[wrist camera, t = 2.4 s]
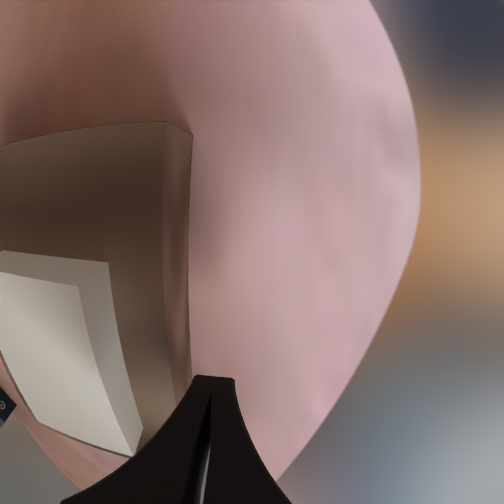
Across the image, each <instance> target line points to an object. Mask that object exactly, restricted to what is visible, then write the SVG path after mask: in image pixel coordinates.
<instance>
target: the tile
mask: <svg viewBox="0 0 504 504" xmlns="http://www.w3.org/2000/svg"><path fill="white" fill-rule="evenodd" d="M0 350H1V353H2V355H3V357H4V360H5V362H6V364H7V366H8V368H9V370H10V372H11V375H12V377H13V379H14V380H15V382H16V384H17V386H18V388H19V390H20V392H21V394H22V395H23V397H24V399H25V401H26V402H27V404H28V406H29V407H30V409H31V411H32V412H33V414H34V416H35V417H36V419H37V420H38V422H40V423H42V424H44V425H47V426H49V427H51V428H53V429H55V430H57V431H60V432H62V433H64V434H67V435H69V436H72V437H74V438H77V439H79V440H82V441H84V442H87V443H90V444H93V445H96V446H99V447H102V448H105V449H108V450H111V451H114V452H118V453H121V454H125V455H128V456H134V455H135V452H136V449H137V446H138V442H139V439H140V436H141V433H142V430H143V425H142V422H141V419H140V416H139V413H138V409H137V406H136V403H135V399H134V396H133V393H132V389H131V385H130V382H129V378H128V374H127V370H126V366H125V362H124V357H123V353H122V348H121V344H120V339H119V334H118V328H117V323H116V317H115V311H114V305H113V298H112V291H111V283H110V274H109V265H108V262H100V261H90V260H81V259H71V258H62V257H54V256H45V255H37V254H29V253H21V252H13V251H5V250H3V251H1V252H0Z"/></svg>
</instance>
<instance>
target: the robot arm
mask: <svg viewBox="0 0 504 504" xmlns="http://www.w3.org/2000/svg"><path fill="white" fill-rule="evenodd" d="M210 444H211V445H210ZM60 504H292V503H291V502H290V501H289V499H288V498H287V497H286V495H285V494H284V493H283V492H282V490H281V489H280V488H279V486H278V485H277V484H276V482H275V481H274V479H273V478H272V476H271V475H270V473H269V472H268V470H267V468H266V467H265V465H264V463H263V462H262V460H261V458H260V456H259V454H258V453H257V451H256V449H255V447H254V444H253V442H252V440H251V438H250V436H249V433H248V431H247V429H246V426H245V423H244V420H243V417H242V415H241V412H240V408H239V404H238V401H237V396H236V391H235V380H234V379H233V378H226V377H215V376H205V375H196V376H194V378H193V380H192V382H191V384H190V386H189V388H188V390H187V391H186V393H185V395H184V396H183V398H182V399H181V401H180V402H179V404H178V405H177V407H176V408H175V410H174V411H173V412H172V414H171V415H170V416H169V418H168V419H167V420H166V422H165V423H164V424H163V425H162V426H161V428H160V429H159V430H158V431H157V432H156V434H155V435H154V436H153V437H152V438H151V439H150V440H149V441H148V442H147V443H146V444H145V445H144V446H143V447H142V448H141V449H140V450H139V451H138V452H137V453H136V454H135V455H134V456H132V457H131V458H130V459H129V460H128V461H127V462H125V463H124V464H123V465H122V466H120V467H119V468H118V469H117V470H115V471H114V472H112V473H111V474H109V475H108V476H106V477H105V478H103V479H102V480H100V481H99V482H97V483H96V484H94V485H92V486H91V487H89V488H87V489H85V490H83V491H81V492H79V493H77V494H75V495H73V496H71V497H69V498H66V499H64V500H62V501H61V503H60Z"/></svg>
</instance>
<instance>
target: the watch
mask: <svg viewBox="0 0 504 504" xmlns="http://www.w3.org/2000/svg"><path fill="white" fill-rule="evenodd" d="M16 406H17V405H16V404H15V403H14V402H13V401H12V400H11V399H10V398H9V397H8V396H7V395H6V394H5V393H4V391H3V390H2V389H1V388H0V427H1V426H2V425H3V424H4V423H5V421H6V420H7V418H8V417H9V415H10V414H11V413H12V411H13V410H14V408H15V407H16Z"/></svg>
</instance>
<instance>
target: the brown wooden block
mask: <svg viewBox="0 0 504 504" xmlns="http://www.w3.org/2000/svg"><path fill="white" fill-rule="evenodd" d="M192 143H193V135H192V134H190V133H188V132H186V131H184V130H183V129H181V128H179V127H177V126H175V125H173V124H171V123H169V122H167V121H158V122H139V123H126V124H115V125H105V126H97V127H89V128H82V129H76V130H69V131H64V132H58V133H53V134H48V135H43V136H38V137H34V138H29V139H25V140H21V141H17V142H13V143H9V144H6V145H2V146H0V252H1V251H3V250H5V251H13V252H21V253H29V254H37V255H45V256H54V257H62V258H71V259H81V260H90V261H100V262H108V265H109V274H110V283H111V291H112V298H113V305H114V311H115V317H116V323H117V328H118V334H119V339H120V344H121V348H122V353H123V357H124V362H125V366H126V370H127V374H128V378H129V382H130V385H131V389H132V393H133V396H134V399H135V403H136V406H137V409H138V413H139V416H140V419H141V422H142V425H143V430H142V433H141V436H140V439H139V442H138V446H137V449H136V452H135V454H136V453H137V452H138V451H139V450H140V449H141V448H142V447H143V446H144V445H145V444H146V443H147V442H148V441H149V440H150V439H151V438H152V437H153V436H154V435H155V434H156V432H157V431H158V430H159V429H160V428H161V426H162V425H163V424H164V423H165V422H166V420H167V419H168V418H169V416H170V415H171V414H172V412H173V411H174V410H175V408H176V407H177V405H178V404H179V402H180V401H181V399H182V398H183V396H184V395H185V393H186V391H187V390H188V388H189V386H190V384H191V382H192V370H191V354H190V334H189V305H188V222H189V193H190V173H191V157H192ZM0 358H1V360H2V362H3V364H4V366H5V369H6V371H7V373H8V375H9V377H10V379H11V381H12V383H13V384H14V386H15V388H16V390H17V392H18V394H19V395H20V397H21V399H22V401H23V402H24V404H25V406H26V407H27V409H28V411H29V412H30V414H31V415H32V417H33V419H34V420H35V422H36V423H38V424H40V425H42V426H44V427H46V428H48V429H50V430H53V431H55V432H57V433H59V434H62V435H64V436H66V437H69V438H71V439H73V440H76V441H79V442H81V443H84V444H86V445H89V446H92V447H95V448H98V449H101V450H104V451H107V452H110V453H113V454H117V455H120V456H124V457H127V458H131V457H132V456H128V455H125V454H121V453H118V452H114V451H111V450H108V449H105V448H102V447H99V446H96V445H93V444H90V443H87V442H84V441H82V440H79V439H77V438H74V437H72V436H69V435H67V434H64V433H62V432H60V431H57V430H55V429H53V428H51V427H49V426H47V425H44V424H42V423H40V422H38V420H37V419H36V417H35V416H34V414H33V412H32V411H31V409H30V407H29V406H28V404H27V402H26V401H25V399H24V397H23V395H22V394H21V392H20V390H19V388H18V386H17V384H16V382H15V380H14V379H13V377H12V375H11V372H10V370H9V368H8V366H7V364H6V362H5V360H4V357H3V355H2V353H1V350H0Z"/></svg>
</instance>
